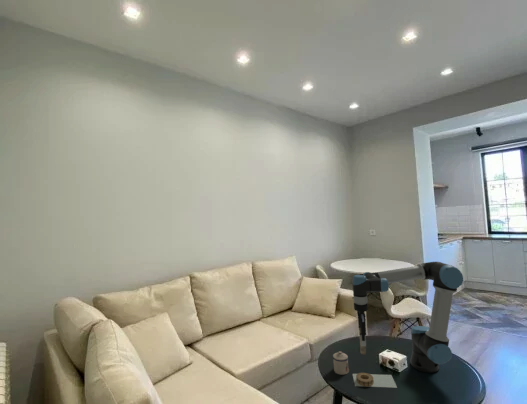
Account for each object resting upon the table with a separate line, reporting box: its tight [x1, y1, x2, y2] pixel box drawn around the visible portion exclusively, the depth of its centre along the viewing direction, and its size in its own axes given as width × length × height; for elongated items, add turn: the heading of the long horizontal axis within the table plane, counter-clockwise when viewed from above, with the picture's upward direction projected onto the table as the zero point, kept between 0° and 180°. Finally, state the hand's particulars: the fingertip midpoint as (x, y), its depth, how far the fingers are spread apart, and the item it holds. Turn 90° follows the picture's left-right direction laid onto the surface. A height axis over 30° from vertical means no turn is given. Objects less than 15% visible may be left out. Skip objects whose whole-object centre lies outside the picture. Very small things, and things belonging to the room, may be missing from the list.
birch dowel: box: [358, 328, 367, 355], centre depth 164 cm, size 3×3×14 cm
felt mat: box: [352, 373, 398, 389], centre depth 164 cm, size 22×12×1 cm, turn 80°
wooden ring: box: [356, 372, 374, 388], centre depth 163 cm, size 9×9×2 cm
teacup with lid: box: [332, 350, 350, 376], centre depth 177 cm, size 12×9×12 cm
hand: (363, 344), depth 164 cm, fingers closed on birch dowel, 3 cm apart
